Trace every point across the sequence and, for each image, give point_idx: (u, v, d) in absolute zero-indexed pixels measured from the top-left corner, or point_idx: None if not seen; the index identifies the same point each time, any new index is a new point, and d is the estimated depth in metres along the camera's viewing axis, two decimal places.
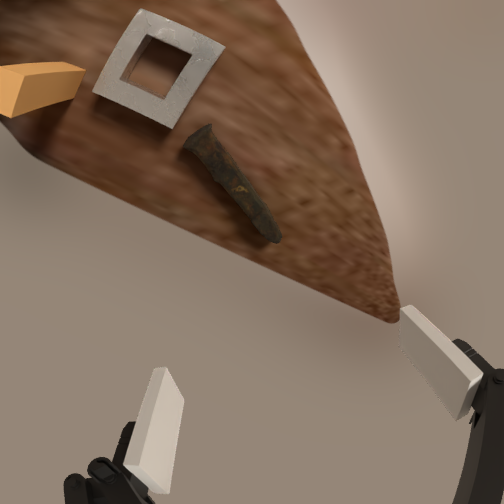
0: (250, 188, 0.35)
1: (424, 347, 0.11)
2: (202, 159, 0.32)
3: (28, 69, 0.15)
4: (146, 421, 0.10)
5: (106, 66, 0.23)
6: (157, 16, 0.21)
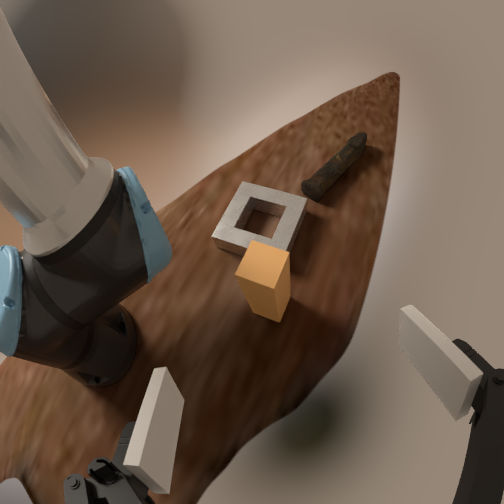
0: (336, 154, 0.47)
1: (424, 347, 0.11)
2: (325, 180, 0.45)
3: None
4: (146, 421, 0.10)
5: None
6: (220, 223, 0.43)
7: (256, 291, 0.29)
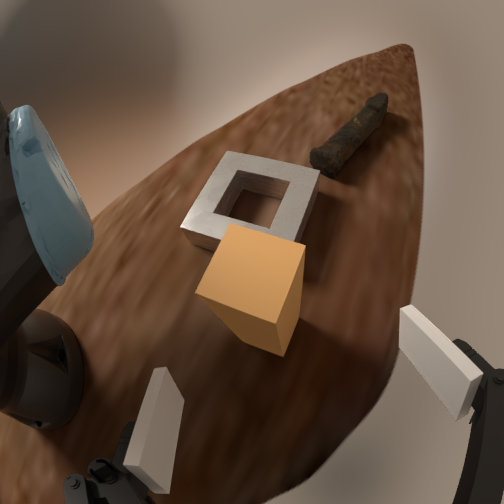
0: None
1: (424, 347, 0.11)
2: (343, 148, 0.31)
3: None
4: (146, 421, 0.10)
5: None
6: (192, 207, 0.29)
7: (241, 321, 0.15)
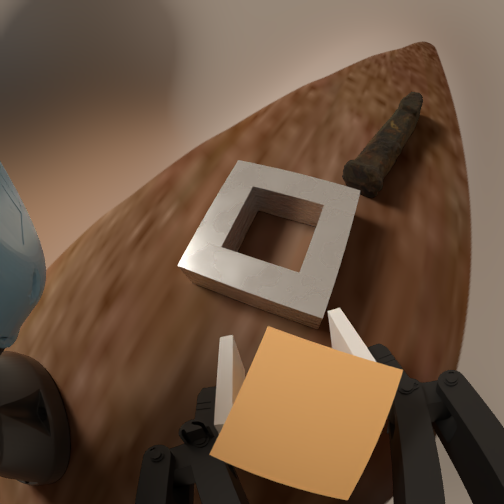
0: (388, 120, 0.26)
1: (344, 349, 0.13)
2: (385, 160, 0.24)
3: None
4: (227, 382, 0.12)
5: (275, 298, 0.19)
6: (194, 238, 0.22)
7: None
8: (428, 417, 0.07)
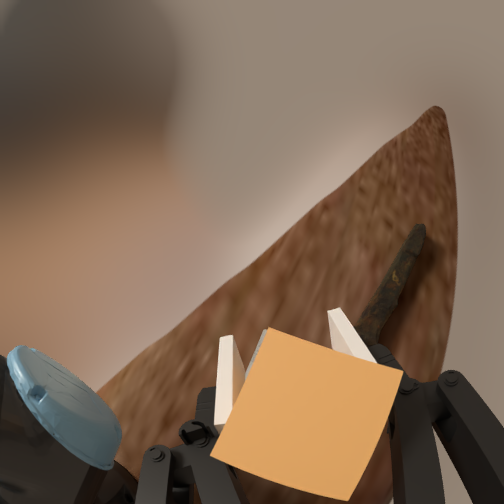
0: (390, 269, 0.33)
1: (344, 350, 0.13)
2: (382, 323, 0.30)
3: None
4: (227, 382, 0.12)
5: None
6: None
7: None
8: (428, 417, 0.07)
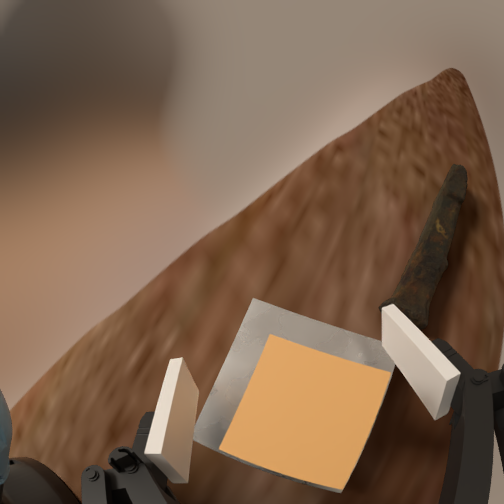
0: (432, 218, 0.22)
1: (404, 346, 0.12)
2: (432, 291, 0.19)
3: None
4: (166, 410, 0.11)
5: (296, 478, 0.14)
6: (205, 410, 0.17)
7: None
8: (491, 410, 0.06)
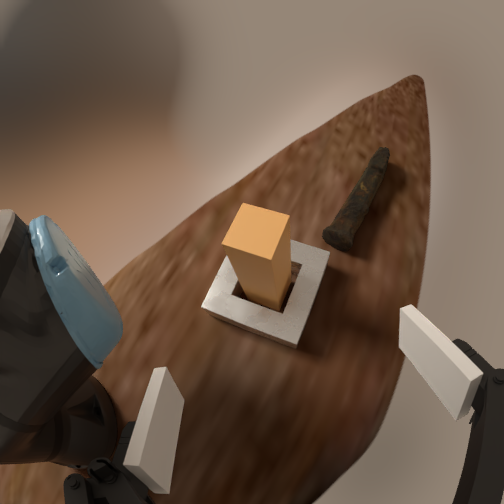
0: (358, 181, 0.36)
1: (425, 347, 0.11)
2: (355, 223, 0.33)
3: None
4: (146, 421, 0.10)
5: (267, 331, 0.29)
6: (212, 287, 0.32)
7: (249, 267, 0.24)
8: None
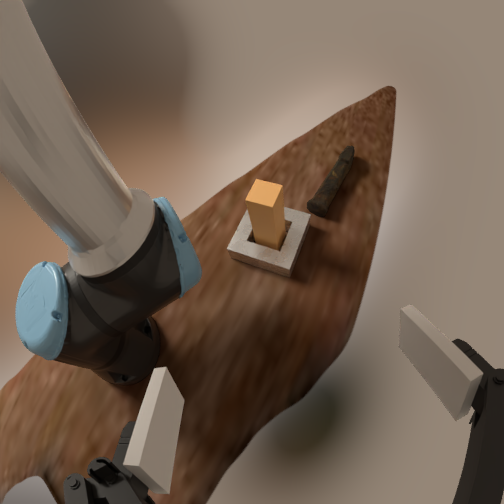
0: (331, 170, 0.54)
1: (424, 347, 0.11)
2: (328, 197, 0.51)
3: None
4: (146, 421, 0.10)
5: (270, 261, 0.46)
6: (234, 237, 0.49)
7: (260, 215, 0.41)
8: None
